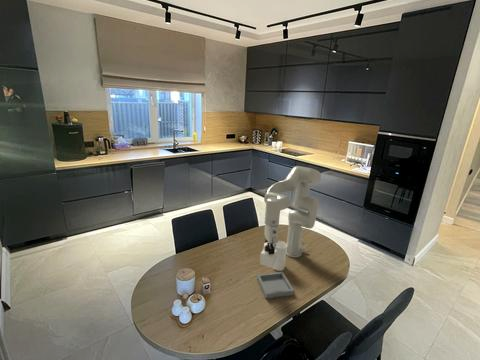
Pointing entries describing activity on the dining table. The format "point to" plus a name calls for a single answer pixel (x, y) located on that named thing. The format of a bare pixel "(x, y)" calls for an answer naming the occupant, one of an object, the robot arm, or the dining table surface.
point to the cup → (280, 256)
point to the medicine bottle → (267, 256)
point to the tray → (275, 285)
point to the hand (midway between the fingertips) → (269, 250)
